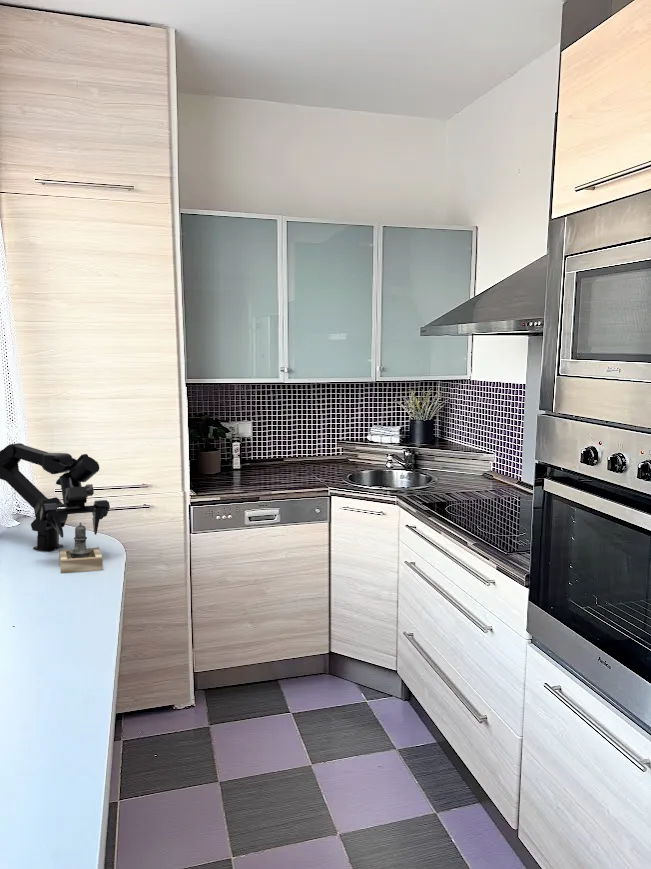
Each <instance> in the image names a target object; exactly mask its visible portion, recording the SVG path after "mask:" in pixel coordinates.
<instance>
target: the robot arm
mask: <svg viewBox="0 0 651 869" xmlns="http://www.w3.org/2000/svg"><path fill="white" fill-rule="evenodd" d="M21 460H22V461H25V462H29V463H31V464H36V465H38V466H40V467H41V468H42V469H43V471H46V472H47V473H49V474H51V475H58V474H62V475H59V477H58V479H57V480H56V481H55V485H59V486H60V488H61V489H60V490H61V495H62V501H63V502H62V501H61V500H60V499H59V498H58V497H52V498H48V497H47V496H46V495H45V494H44V493H43V492H42V491H41V490H40V489H38V488H37V487H36V486H35V485H34V484H33V483H32V482H31V481H30V480H29V479H28V478H27V477H26V476H25V475H24V474H23V473H22V472H21V471H20V468H19V467H20V466H19V463H20V462H21ZM99 471H100V464H99V462H98V461H96V459H94V458H92V457H91V456H89V455H88V454H87V453H83V454H81V455H80V456H79V457H78V458H77V459H76V458H74V457H73V455H71V454H70V453H68V452H66V453H65V452H64V453H63V452H48V451H45V450H42V449H39V448H36V447H35V448H34V447H32V446H29V445H25V444H23V443H20V442H19V443H18V442H17V443H10V444H8V445H7V446H5V447H4V448H3V449H1V450H0V480H2V481H5V482H6V483H7V484H8V485H9V486H10V487H11V488H12V489H13V490H14V491H15V492H16V493H17V494H18V495H19V496H20V497H21V498H23V499H24V501H26V503H27V504H29V506H30V507H32V508H33V511H34V518H35V519H34V520H33V521H32V522H31V523H30V527H31V530H32V531H34V532H37V535H36V537H37V538H36V540H37V541H36V544H37V545H36V546H34V547H32V550H35V551H44V552H53V551H56V550H58V549H60V548H63V547H64V544H63V543H62V544H61V543H60V537H61V539H62V538H64V536H65V535H64V530H63V528H64V527H65V526H66V523H67V520H68V516H69V515H70V514H72V515H73V514H75V515H76V514H88V513H89V514H90V513H92V526H93V533H94V535H97V533H98V528H99V523H100V520H102V519H103V518H106V517H107V516H108V514H109V512H110V511H109V510H110V508H111V507H110V502H109V501H108V500H107V499H102V500H101V499H99V500H94V503H93V505H86V504H87V502H88V500H87V498H88V497H92V496H93V495H94V492H95V491H94V485H93V484H92V483H91V484H90V483H89V484H86V485H84V486H82V483H86V482H88V480H90V479H91V478H92V477H93V476H94V475H96V474H97V473H98V472H99Z"/></svg>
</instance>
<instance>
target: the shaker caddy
mask: <svg viewBox="0 0 651 869" xmlns="http://www.w3.org/2000/svg"><path fill="white" fill-rule="evenodd" d="M87 548H88V549H90V550H91V552H90V555H89V557H87V558H72V557H71V555H70V552H69V551H70V550H72V549H73V548H70V549H59V551H58V554H59V556H58V563H59V569H60V573H61V574H67V573H69V574H71V573H80V572H81V573H84V571H85V572H94V571H103V565H104V564H103V561H104V560H103V559H104V558H103V555H102V553H101V549H100V547H87Z"/></svg>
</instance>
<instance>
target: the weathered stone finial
mask: <svg viewBox="0 0 651 869" xmlns="http://www.w3.org/2000/svg"><path fill="white" fill-rule="evenodd" d="M86 529H87V528H86V526H84V525H83V524H82V522H80V523H79V525H77V526H76V527H74V537H73V540H74V547H73V548H71V549H72V550H70V551H69V552H70V555H71V557H72V558H87V557H89V555H90V552H91V550H90V549H88V548H89V547H87V538H88V537H87V536H86V532H87V530H86Z"/></svg>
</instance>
